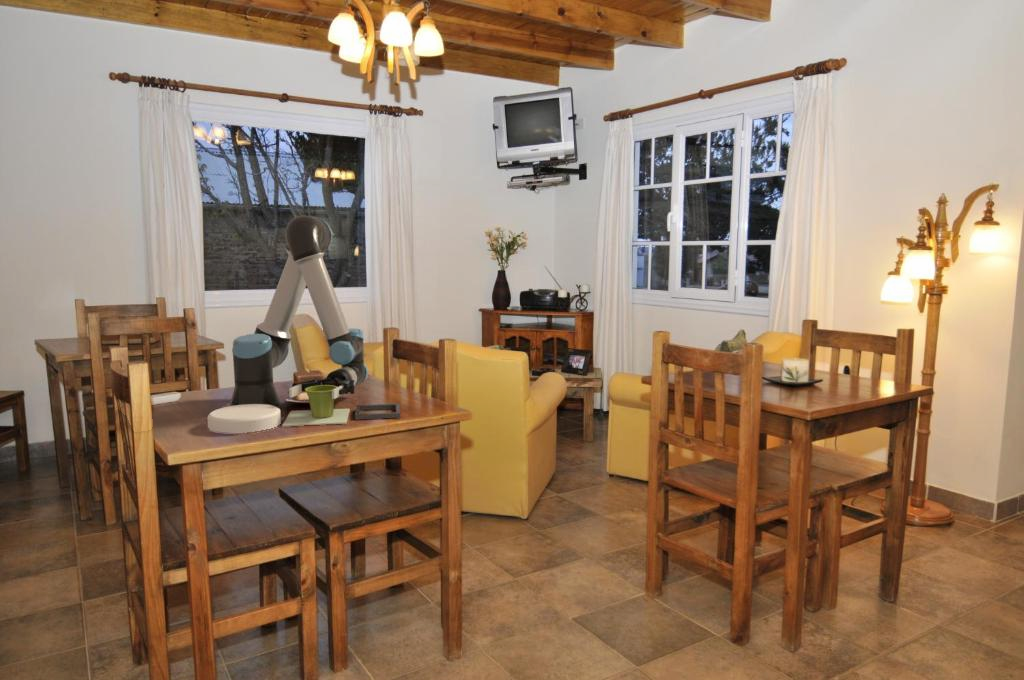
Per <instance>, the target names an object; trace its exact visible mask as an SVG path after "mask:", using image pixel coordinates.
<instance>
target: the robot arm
mask: <svg viewBox="0 0 1024 680" xmlns="http://www.w3.org/2000/svg"><path fill="white" fill-rule="evenodd" d="M284 235H285V241H286V245H287V246H286V248H285V251H286V253H287V254H288V257H287V259H286V262H285V265H284V267H283V270H282V271H281V276H280V278H279V281H278V283H277V285H276V289H275V291H274V293H273V296H272V299H271V302H270V303H269V308H268V310H267V312H266V315H265V318H264V320H263V322H261V323H259V324H257V325H256V328H255V331H254V332H253V333H250V334H245V335H240V336H238V337H235V339H234V340H233V341H232V350H231V352H232V359H233V360H232V361H233V374H234V375H233V376H234V377H233V379H234V388H233V392H232V396H231V399H230V402H229V406H235V405H245V404H266V405H272V406H275V407H277V408H279V409H280V408H281V400H280V397H279V394H278V392H277V389H276V387H275V384H274V370H273V369H274V368H277V367H279V366H280V365H282V364H283V363H284V362H285V360H286V359H287V357H288V355H289V350H290V347H289V345H290V342H291V340H292V334H291V333H290V329H291V326H292V324H293V321H294V319H295V315H296V313H297V310H298V308H299V305H300V303H301V300H302V297H303V295H304V293H305V289H306V288H307V290H308V293H309V294H310V298H311V301H312V303H313V305H314V309H315V311H316V315H317V317H318V319H319V321H320V325H321V327H322V330H323V332H324V337H325V338H326V341H327V344H328V347H329V351H328V356H329V358H330V360H331V361H332V362H333V363H335V364H336V365H339V366H341V367H340V368H337V369H335V370H333V371H330V372H329V373H328V374H327V376H326V377H325V378H321V379H319V378H313V379H309V380H304V381H299V382H294V383H292V385H291V386H292V387H290V388H288V393H289V395H288V396H289V398H293V397H296V396H299V395H301V394H302V393H303V392H306V391H305V389H306V388H308V387H311V386H318V385H333V386H337V388H335V389H333V390H332V399H334V400H336V399H337V398H339V397H341V396H343V395H347V394H351V395H354V394H355V387H357V386H359V385H361V384H363V383H364V382H365V381H366V380H367V378H368V377H369V369H368V366H367V365H366V364H365V360H364V340H365V339H364V332H363V330H362V329H361V328H349V325H348V324H347V320H346V318H345V315H344V312H343V310H342V307H341V305H340V302H339V299H338V296H337V293H336V291H335V288H334V285H333V282H332V279H331V277H330V274H329V272H328V269H327V266H326V263H325V261H324V258H323V257H324V255H325V252H326V250H327V249H328V248H329V246H330V245H331V243H332V240H333V232H332V229H331V227H330V225H329V224H328V222H326V221H325V220H324V219H322V218H320V217H317V216H309V215H297V216H295V217H293V218H292V219H291V220H289V222H288V223H287V226H286V227H285V232H284Z"/></svg>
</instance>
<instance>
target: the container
mask: <svg viewBox="0 0 1024 680" xmlns="http://www.w3.org/2000/svg"><path fill="white" fill-rule="evenodd" d="M281 412H282V411H281V409H280V408H277V407H275V406H272V405H266V404H245V405H235V406H230V405H229V406H224V407H220V408H218V409H215V410H212V411H211V412H209V414H208V415H207V417H206V418H207V429H208V428H209V429H211V430H214V431H219V432H229V433H243V432H244V433H247V432H255V431H261V430H266V429H271V428H273V429H275V428H274V427H276V428H278V427H279V426H280V425H279V424H282V419H281V418H282V416H281V415H282V414H281ZM278 425H279V426H278ZM277 426H278V427H277ZM271 430H272V429H271Z"/></svg>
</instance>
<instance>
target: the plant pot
mask: <svg viewBox="0 0 1024 680" xmlns="http://www.w3.org/2000/svg"><path fill="white" fill-rule="evenodd" d="M335 388H337V386H333V385H318V386H311V387H308V388H306V389H305V392H306V394H307V396H308V402H309V406H310V410H311V412H312V416H313V417H314V418H323V417H331V416H333V409H335V408H334V406H335V399H332V390H333V389H335Z"/></svg>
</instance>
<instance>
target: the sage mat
mask: <svg viewBox="0 0 1024 680" xmlns="http://www.w3.org/2000/svg"><path fill="white" fill-rule="evenodd" d="M349 414H350V408H334V409H333V416H331V417H323V418H314V417H313V416H312V412H311V409H307V410H303V409H302V410H291V411H289V413H288V415H287V417H286V418H285V420H284V422H283V423H282V425H281V427H282V428H292V427H291V426H298V427H305V426H304V425H320V426H327V425H326V424H342V425H347V423H348V419H349ZM324 424H325V425H324Z"/></svg>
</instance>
